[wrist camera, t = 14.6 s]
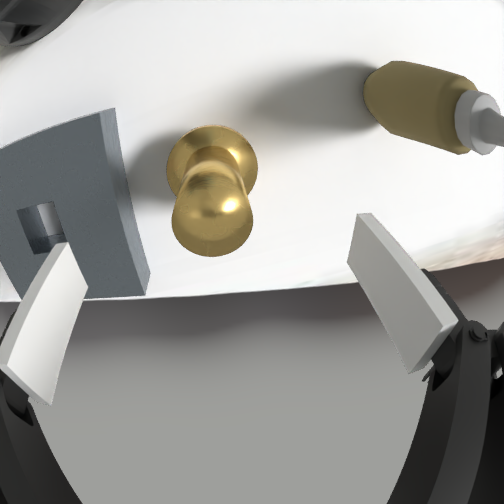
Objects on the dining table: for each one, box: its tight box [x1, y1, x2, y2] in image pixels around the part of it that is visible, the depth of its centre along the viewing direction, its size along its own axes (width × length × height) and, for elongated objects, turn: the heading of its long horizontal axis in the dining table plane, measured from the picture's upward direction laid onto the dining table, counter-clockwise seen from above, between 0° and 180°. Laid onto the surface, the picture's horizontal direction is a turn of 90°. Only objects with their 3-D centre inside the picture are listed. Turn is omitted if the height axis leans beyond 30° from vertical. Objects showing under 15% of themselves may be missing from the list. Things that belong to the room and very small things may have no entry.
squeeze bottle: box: [363, 61, 504, 155], centre depth 16 cm, size 8×8×18 cm
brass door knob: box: [166, 125, 258, 257], centre depth 20 cm, size 8×8×14 cm
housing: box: [0, 108, 150, 299], centre depth 24 cm, size 20×20×4 cm
